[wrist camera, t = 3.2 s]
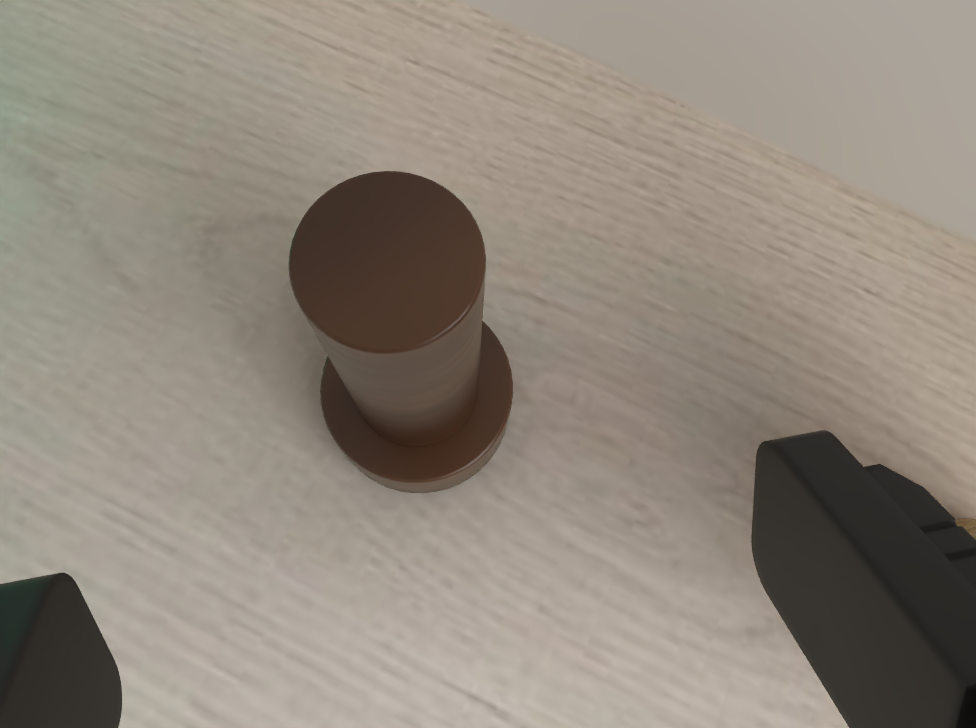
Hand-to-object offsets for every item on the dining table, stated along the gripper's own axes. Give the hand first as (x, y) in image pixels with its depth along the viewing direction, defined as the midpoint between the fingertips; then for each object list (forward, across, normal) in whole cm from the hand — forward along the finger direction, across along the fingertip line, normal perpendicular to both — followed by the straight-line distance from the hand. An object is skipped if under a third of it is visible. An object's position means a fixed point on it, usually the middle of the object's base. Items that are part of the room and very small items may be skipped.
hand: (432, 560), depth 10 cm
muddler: (+10, 0, +4) cm, 11 cm away
